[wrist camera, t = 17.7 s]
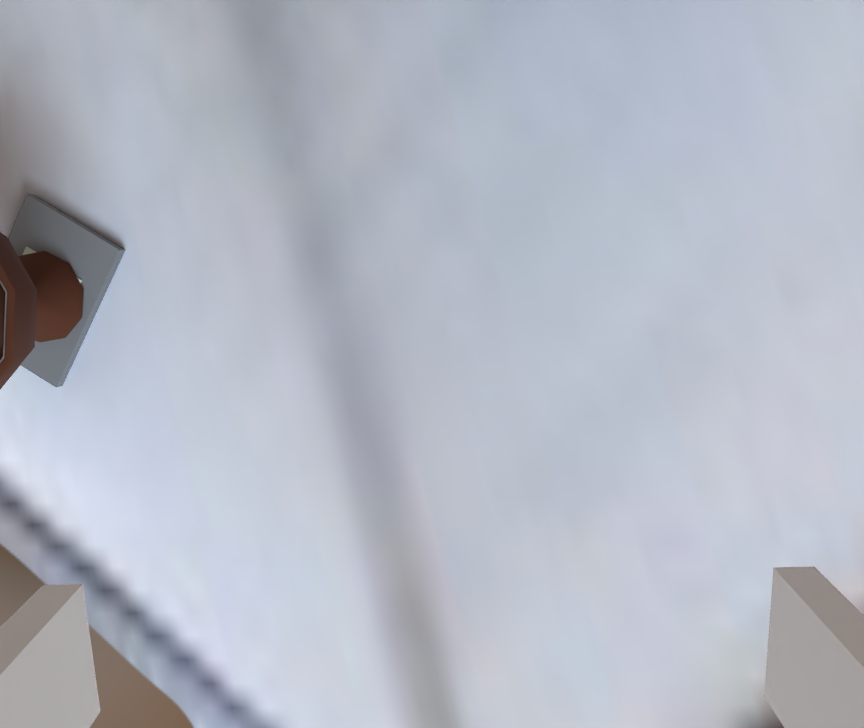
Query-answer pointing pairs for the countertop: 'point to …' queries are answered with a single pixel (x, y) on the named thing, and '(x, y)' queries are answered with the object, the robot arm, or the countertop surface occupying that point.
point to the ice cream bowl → (34, 303)
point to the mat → (90, 264)
